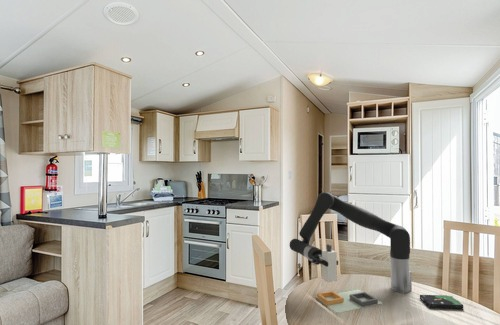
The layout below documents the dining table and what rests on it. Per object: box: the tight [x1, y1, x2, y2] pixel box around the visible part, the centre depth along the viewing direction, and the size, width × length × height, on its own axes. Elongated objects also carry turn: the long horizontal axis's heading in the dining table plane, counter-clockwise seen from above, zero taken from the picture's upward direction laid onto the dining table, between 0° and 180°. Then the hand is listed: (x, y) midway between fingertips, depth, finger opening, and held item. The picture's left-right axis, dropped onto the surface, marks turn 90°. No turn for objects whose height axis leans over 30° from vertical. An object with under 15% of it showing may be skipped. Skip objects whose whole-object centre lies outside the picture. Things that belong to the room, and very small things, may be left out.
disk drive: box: [419, 294, 464, 311], centre depth 141 cm, size 10×3×15 cm
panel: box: [315, 288, 383, 315], centre depth 144 cm, size 26×17×3 cm, turn 110°
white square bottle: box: [321, 243, 338, 283], centre depth 145 cm, size 5×5×17 cm
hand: (332, 263), depth 143 cm, fingers closed on white square bottle, 5 cm apart
